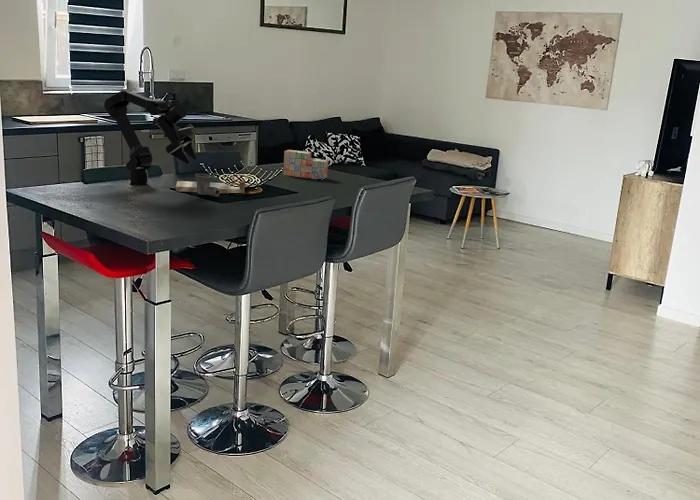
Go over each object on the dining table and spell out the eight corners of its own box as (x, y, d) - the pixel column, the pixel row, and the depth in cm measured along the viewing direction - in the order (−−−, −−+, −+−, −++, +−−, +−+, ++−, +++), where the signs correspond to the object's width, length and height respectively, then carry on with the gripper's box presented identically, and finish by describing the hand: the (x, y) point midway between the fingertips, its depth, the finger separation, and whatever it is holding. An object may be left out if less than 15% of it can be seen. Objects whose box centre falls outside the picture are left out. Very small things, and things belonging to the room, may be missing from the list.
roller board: (175, 191, 286) (176, 179, 284) (177, 185, 297) (177, 174, 296) (244, 194, 292) (244, 182, 290) (243, 188, 303) (243, 177, 301)
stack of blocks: (327, 178, 345) (329, 154, 342) (323, 180, 339) (324, 155, 336) (287, 173, 351) (289, 149, 348) (282, 175, 345) (284, 150, 342)
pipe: (211, 199, 277) (212, 179, 275) (190, 193, 284) (191, 174, 282) (223, 197, 282) (223, 178, 280) (202, 192, 289) (202, 173, 287)
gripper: (176, 121, 269) (200, 154, 272) (192, 115, 287) (214, 146, 290) (155, 136, 272) (178, 169, 275) (171, 129, 290) (193, 161, 293)
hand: (192, 161), depth 283 cm, fingers open, 9 cm apart
